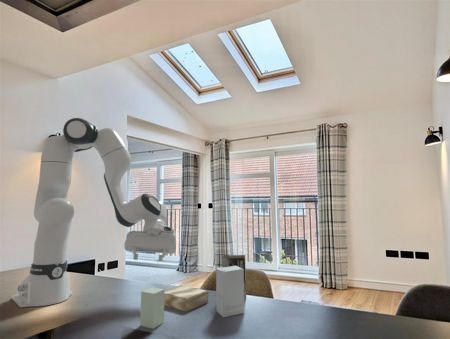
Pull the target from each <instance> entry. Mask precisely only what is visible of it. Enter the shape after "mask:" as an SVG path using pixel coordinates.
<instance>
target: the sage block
mask: <svg viewBox="0 0 450 339" xmlns="http://www.w3.org/2000/svg"><path fill="white" fill-rule="evenodd" d="M165 290H166V289H164V288H158V287H152V286H151V287H149V288H147V289H144V290H142V291H141V293H140V317H139V318H140V320H139V321H140V322H139V326H141V327H145V328H148V329H153V330H154V329H155V328H158V327H159V326H160V325H163V324H164V323H165V305H164V291H165Z"/></svg>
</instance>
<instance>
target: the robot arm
mask: <svg viewBox="0 0 450 339" xmlns="http://www.w3.org/2000/svg"><path fill="white" fill-rule="evenodd" d="M62 133H63V134H62V135H53V136H52V135H51V136H50V137H47V138H46V139H45V141H44V144H43V147H42V152H41V157H40V165H39V166H40V167H39V168H40V169H39V179H38V180H39V181H38V186H37V191H36V196H35V202H34V208H33V216H34V218H35V220H36V221H37V222H38V228H37V232H36V237H35V241H34V243H33V244H34V245H33V246H34V249H33V261H32V263H31V264H30V265H31V266H30V269H29V274H28V275H27V276H26V277H25V278H24V279H23V280H22V282H20V285H18V286H17V292H18V293H17V294H14V295H12V297H11V299H12V300H13V302H14V303H15V304H16V305H17V307H19V308H27V307H28V308H29V307H42V306H43V307H44V306H49V305H55V304H59V303H62V302H64V301H67V300H68V299H69V298H70V297H71V295H73V291H71V290H70V289H71V288H70V273H68V272H67V270H68V260H67V254H68V253H67V252H68V250H67V249H68V240H69V235H70V230H71V227H72V219H73V217H74V215H75V209H74V206H73V204H72V203H71V202H70V201H69V200H67V197H68V193H69V189H70V186H71V182H72V171H73V170H72V168H73V158H74V157H73V156H74V153H78V152H82V151H83V152H84V151H87V150H91V149H92V148H94V149H95V150H96V151H97V153H98V154H99V156H100V158H101V160H102V162H103V165H104V174H103V179H104V182H105V184H104V185H105V186H106V189H107V191H108V195H109V197H110V200H111V202H112V205H113V208H114V209H113V210H114V213H115V218H116V221H117V223H119V224H120V225H121V226H124V227H127V228H131V227H132V226H134V225H136V224H137V223H138V222H141V221H143V220H144V225H143V230H137V231H136V230H131V231H129V232H127V233H126V238H125V241H124V244H123V245H124V248H123V249H124V250H125V251H126V252H132V255H133V261H137V260H138V258H139V252H140V253H141V252H142V253H154V254H157V253H159V255H158V262H163V258H165V257H166V256H167V254H173V255H174V254H175V253H176V250H177V240H176V234H175V229H174V228H173V227H170V226H168V225H166V222H167V219H168V218H167V216H168V212H167V206H166V204H165V203H163V201H160V200H158V199H157V198H156V197H155V196H153V195H152V194H149V193H143V194H141V195H138V196H137V197H135V198H133V199H131V200H130V201H128V202H127V200H126V197H125V196H124V191H123V190H122V186H121V181H122V179H123V176H124V175H125V174H126V172H128V170H129V168H130V166H131V164H132V163H131V162H132V156H131V154H130V153H131V152H129V149H128V148H127V146H126V144H125V142H124V141H123V139H122V138H121V137H120V135H119V134H118V133H117V131H116V130H115V129H114V128H111V127H105V128H101V129H98V127H97V126H95V125H93V124H92V123H91V122H90V121H88V120H86V119H83V118H81V117H72V118H71V119H69V120H67V121H66V122H65V124H64V126H63V130H62ZM137 252H138V253H137Z"/></svg>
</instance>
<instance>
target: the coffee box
mask: <svg viewBox="0 0 450 339" xmlns="http://www.w3.org/2000/svg"><path fill="white" fill-rule="evenodd" d="M221 261H222V262H221V265H222V266H221V268H224V267H230V266H238V267H240V268H242V269H244V302H245V301H247V280H246V279H247V274H246V271H247V269H246V255H245V254H223V256H222V258H221Z"/></svg>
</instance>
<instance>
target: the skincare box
mask: <svg viewBox="0 0 450 339" xmlns="http://www.w3.org/2000/svg"><path fill="white" fill-rule="evenodd" d="M215 285H216V287H215V289H216V290H215V297H216V301H215V303H216V312H217V314H219V315H220V316H221V317H223V318H227V317H232V316H236V315H237V316H238V315H242V314H245V301H244V269H242V268H240V267H238V266H230V267H224V268H222V267H216V268H215Z"/></svg>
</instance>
